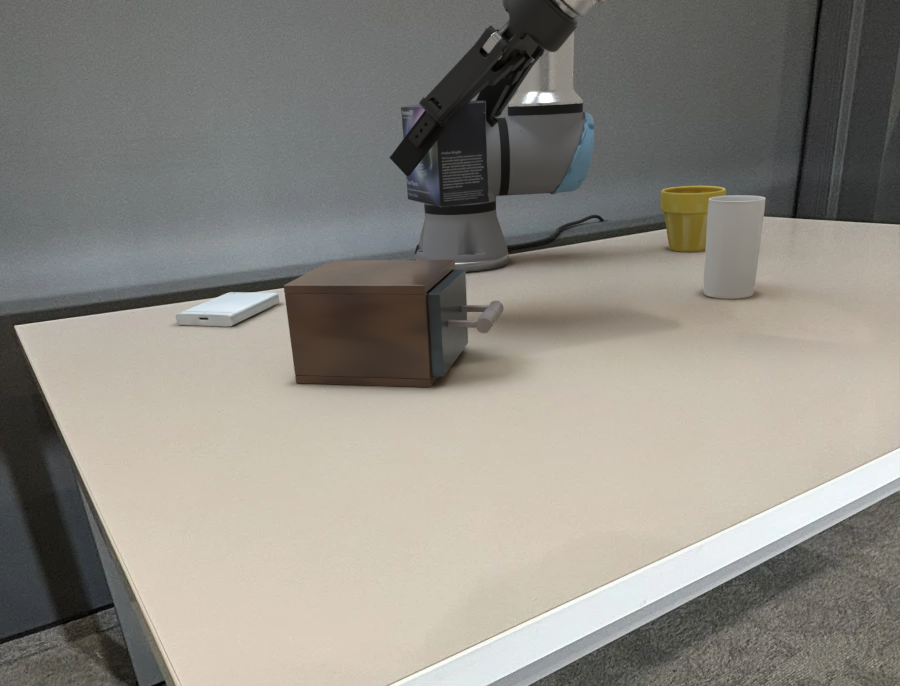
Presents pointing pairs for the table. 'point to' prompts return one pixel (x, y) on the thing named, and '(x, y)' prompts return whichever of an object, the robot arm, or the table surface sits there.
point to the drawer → (454, 320)
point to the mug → (732, 245)
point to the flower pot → (687, 215)
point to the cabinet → (363, 322)
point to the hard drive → (227, 309)
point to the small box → (452, 159)
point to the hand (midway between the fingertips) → (422, 162)
